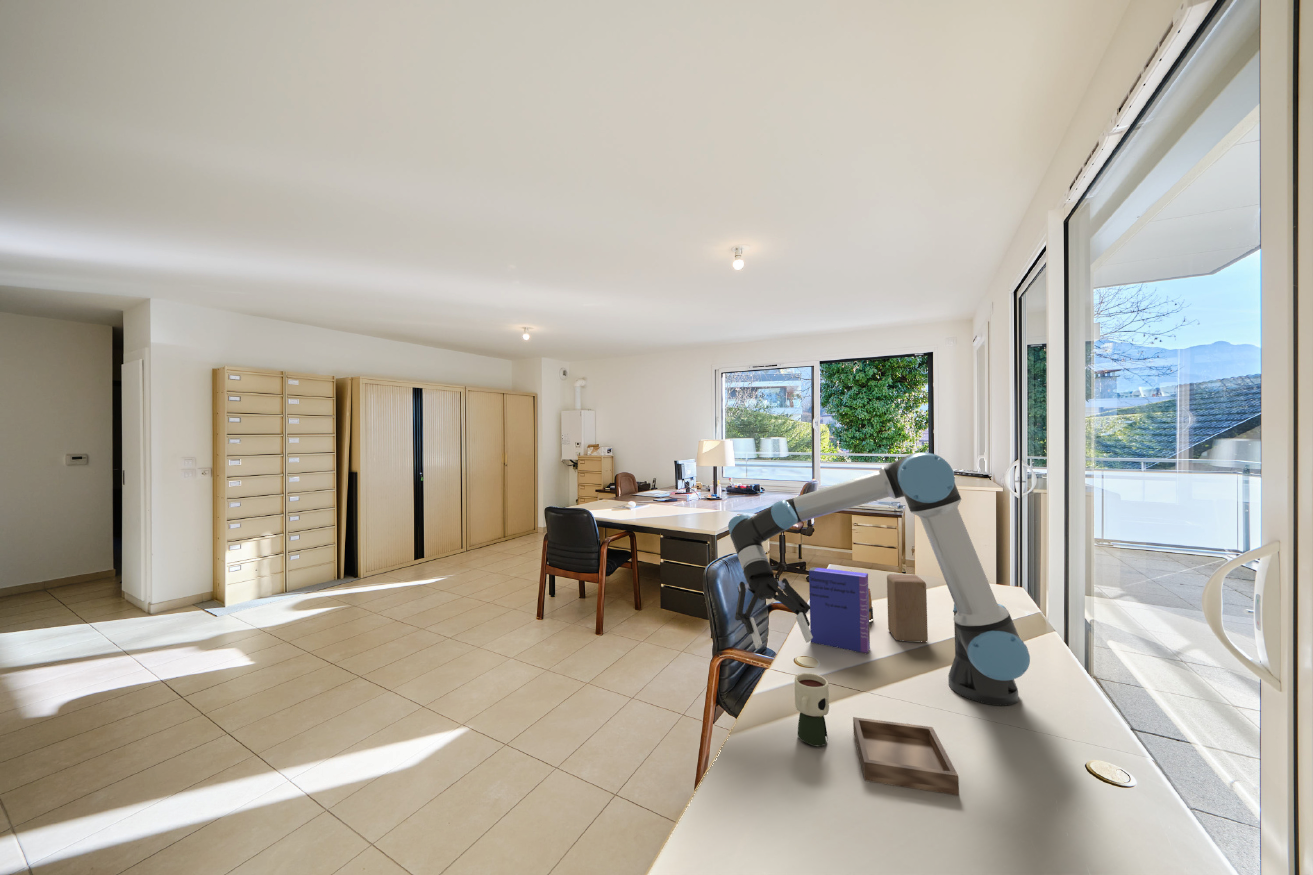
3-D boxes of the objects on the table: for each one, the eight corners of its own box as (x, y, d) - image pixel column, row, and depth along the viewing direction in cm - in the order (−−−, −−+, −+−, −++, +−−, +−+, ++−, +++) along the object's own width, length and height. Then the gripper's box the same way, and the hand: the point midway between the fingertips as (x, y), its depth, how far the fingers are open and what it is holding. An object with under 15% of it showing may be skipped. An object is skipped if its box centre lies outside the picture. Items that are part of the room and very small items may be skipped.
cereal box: (869, 648, 152) (867, 572, 153) (867, 653, 148) (865, 576, 149) (814, 637, 161) (812, 566, 162) (810, 642, 157) (808, 569, 158)
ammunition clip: (860, 628, 170) (859, 594, 170) (855, 626, 171) (854, 593, 171) (873, 620, 177) (872, 588, 177) (868, 619, 178) (867, 587, 178)
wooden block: (928, 643, 155) (927, 582, 156) (895, 641, 157) (894, 580, 158) (918, 632, 165) (916, 574, 166) (887, 630, 167) (886, 573, 168)
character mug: (821, 759, 98) (820, 695, 98) (787, 747, 102) (786, 685, 102) (836, 733, 107) (834, 674, 107) (804, 723, 111) (803, 666, 111)
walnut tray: (933, 743, 103) (932, 726, 103) (959, 795, 87) (958, 775, 87) (853, 732, 107) (853, 716, 107) (864, 780, 91) (864, 761, 92)
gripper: (791, 570, 136) (823, 644, 121) (709, 576, 130) (732, 655, 115) (801, 555, 131) (836, 630, 116) (716, 561, 125) (741, 641, 110)
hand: (784, 643), depth 115 cm, fingers open, 13 cm apart
